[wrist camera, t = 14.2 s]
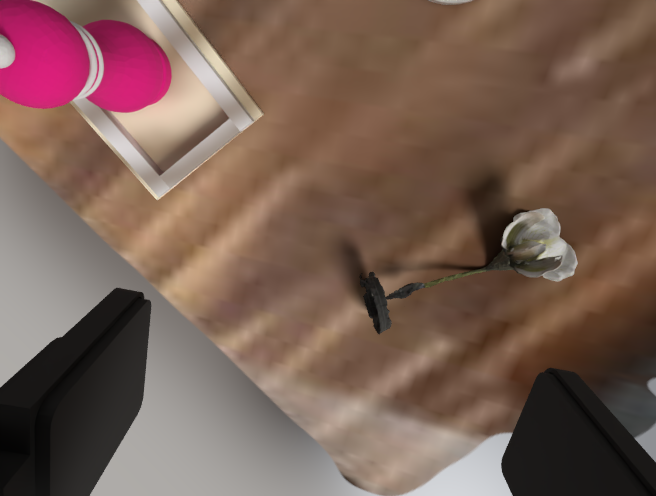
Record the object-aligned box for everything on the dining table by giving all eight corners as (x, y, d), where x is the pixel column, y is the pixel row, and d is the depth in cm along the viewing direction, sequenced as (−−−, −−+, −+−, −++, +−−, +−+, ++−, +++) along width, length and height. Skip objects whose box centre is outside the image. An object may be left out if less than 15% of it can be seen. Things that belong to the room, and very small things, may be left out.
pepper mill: (83, 71, 42) (-118, 50, 23) (129, 9, 40) (-46, -70, 21) (146, 127, 43) (7, 151, 24) (193, 69, 42) (83, 46, 23)
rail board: (9, 28, 41) (-10, 24, 39) (117, -79, 39) (103, -90, 36) (160, 198, 47) (151, 203, 44) (264, 114, 44) (260, 115, 42)
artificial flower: (348, 252, 50) (360, 256, 40) (538, 203, 51) (595, 195, 41) (368, 328, 50) (384, 351, 40) (556, 278, 51) (617, 289, 42)
